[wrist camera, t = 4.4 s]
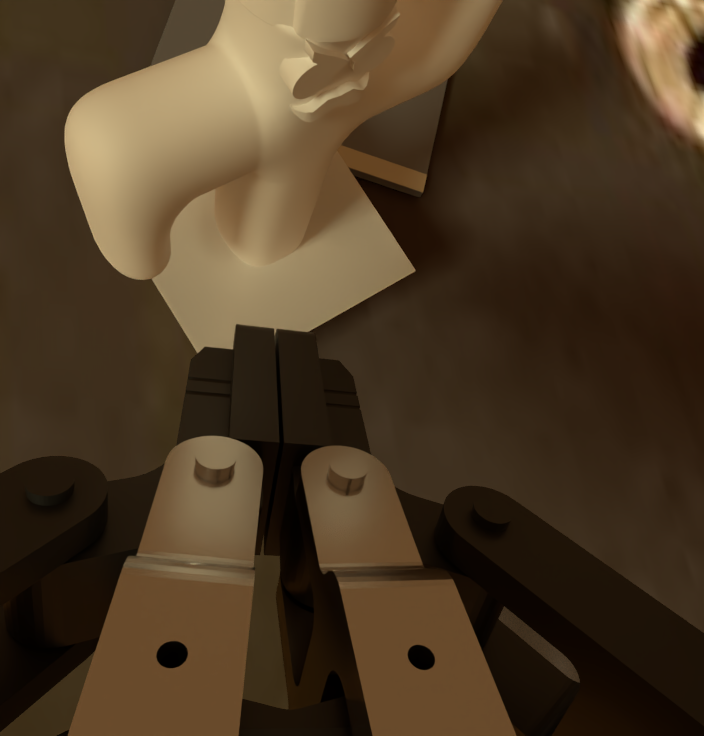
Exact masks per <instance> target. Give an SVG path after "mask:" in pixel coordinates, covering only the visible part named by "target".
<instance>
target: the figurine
mask: <svg viewBox="0 0 704 736" xmlns="http://www.w3.org/2000/svg"><path fill="white" fill-rule="evenodd" d="M502 1H503V0H225V5H224V9H223V13H222V16H221V19H220V21H219V24H218V26H217V29H216V31H215V33H214V34H213V36H212V38H211V39H210V41H209V42H208V44H207V45H206V46H203V47H200V48H198V49H195V50H192V51H190V52H187V53H184V54H182V55H179V56H177V57H174V58H171V59H169V60H166V61H163V62H161V63H158V64H155V65H153V66H150V67H148V68H145V69H142V70H140V71H137V72H134V73H132V74H129V75H126V76H124V77H121V78H118V79H116V80H113V81H111V82H108V83H106V84H104V85H101V86H99V87H97V88H95V89H94V90H92V91H90V92H89V93H87V94H86V95H84V96H83V97H82V98H81V99H79V100H78V101H77V102H76V104H75V105H74V106H73V107H72V109H71V111H70V113H69V115H68V118H67V121H66V125H65V150H66V155H67V160H68V165H69V169H70V172H71V176H72V179H73V182H74V184H75V187H76V190H77V193H78V196H79V198H80V201H81V204H82V207H83V209H84V212H85V215H86V218H87V221H88V223H89V226H90V229H91V231H92V234H93V237H94V239H95V241H96V243H97V245H98V247H99V249H100V251H101V252H102V253H103V255H104V256H105V258H106V259H107V260H108V261H109V262H110V264H111V265H112V266H113V267H114V268H115V269H117V270H118V271H119V272H120V273H122V274H124V275H126V276H127V277H130V278H133V279H139V280H145V279H151V278H152V280H153V282H154V283H155V285H156V287H157V288H158V290H159V291H160V293H161V295H162V296H163V298H164V300H165V301H166V303H167V304H168V306H169V308H170V309H171V311H172V312H173V314H174V316H175V317H176V319H177V321H178V322H179V324H180V325H181V327H182V329H183V330H184V332H185V334H186V335H187V337H188V338H189V340H190V342H191V343H192V345H193V347H194V348H195V350H196V351H197V353H199V352H200V351H201V350H202V349H203V348H204V347H214V348H224V349H233V342H234V334H235V327H236V324H241V325H249V326H258V327H267V328H274V333H276V329H285V330H294V331H303V332H309V331H311V330H312V329H314V328H316V327H318V326H319V325H321V324H323V323H325V322H326V321H328V320H330V319H332V318H333V317H335V316H337V315H339V314H341V313H342V312H344V311H346V310H348V309H349V308H351V307H353V306H355V305H356V304H358V303H360V302H362V301H364V300H365V299H367V298H369V297H371V296H372V295H374V294H376V293H378V292H379V291H381V290H383V289H385V288H386V287H388V286H390V285H392V284H394V283H395V282H397V281H399V280H401V279H402V278H404V277H406V276H408V275H409V274H411V273H413V272H415V271H416V270H415V269H414V267H413V265H412V264H411V262H410V261H409V259H408V258H407V256H406V255H405V253H404V252H403V250H402V249H401V247H400V246H399V244H398V243H397V241H396V240H395V238H394V237H393V235H392V233H391V232H390V230H389V229H388V227H387V226H386V224H385V223H384V221H383V220H382V218H381V217H380V215H379V214H378V212H377V211H376V209H375V208H374V206H373V205H372V203H371V201H370V200H369V198H368V197H367V195H366V194H365V192H364V191H363V189H362V188H361V186H360V185H359V183H358V182H357V180H356V179H355V177H354V176H353V174H352V173H351V171H350V169H349V168H348V166H347V165H346V163H345V162H344V160H343V159H342V157H341V156H340V154H339V153H338V151H337V150H338V149H339V147H340V146H341V144H342V143H343V142H344V140H345V139H346V138H347V137H348V136H349V135H350V133H351V132H352V131H353V130H354V129H356V128H357V127H358V126H359V125H360V124H362V123H363V122H365V121H366V120H367V119H369V118H371V117H373V116H375V115H377V114H379V113H381V112H384V111H386V110H388V109H390V108H392V107H395V106H397V105H399V104H401V103H403V102H405V101H408V100H410V99H412V98H414V97H416V96H418V95H421V94H423V93H425V92H427V91H429V90H431V89H433V88H435V87H436V86H438V85H440V84H442V83H443V82H444V81H446V80H447V79H448V78H449V77H451V76H452V75H453V74H454V73H455V72H456V71H457V70H458V69H459V68H460V67H461V65H462V64H463V63H464V62H465V61H466V59H467V58H468V56H469V55H470V54H471V52H472V51H473V50H474V48H475V47H476V45H477V43H478V42H479V40H480V39H481V37H482V35H483V34H484V32H485V30H486V29H487V27H488V25H489V24H490V22H491V20H492V18H493V17H494V15H495V13H496V11H497V10H498V8H499V6H500V4H501V3H502Z"/></svg>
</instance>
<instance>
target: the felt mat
mask: <svg viewBox="0 0 704 736" xmlns="http://www.w3.org/2000/svg"><path fill="white" fill-rule="evenodd" d="M224 5H225V0H175V3H174V6H173V8H172V11H171V14H170V16H169V19H168V21H167V24H166V27H165V29H164V32H163V35H162V37H161V40H160V42H159V45H158V48H157V50H156V53H155V56H154V58H153V61H152V63H151V66H153V65H155V64H158V63H161V62H163V61H166V60H169V59H171V58H174V57H177V56H179V55H182V54H184V53H187V52H190V51H192V50H195V49H198V48H200V47H203V46H206V45H207V44H208V42H209V41H210V39H211V38H212V36H213V34H214V33H215V31H216V29H217V26H218V24H219V21H220V19H221V16H222V13H223V9H224ZM447 81H448V79H447V80H446V81H444V82H443V83H442V84H440V85H438V86H436V87H435V88H433V89H431V90H429V91H427V92H425V93H423V94H421V95H418V96H416V97H414V98H412V99H410V100H408V101H405V102H403V103H401V104H399V105H397V106H395V107H392V108H390V109H388V110H386V111H384V112H381V113H379V114H377V115H375V116H373V117H371V118H369V119H367V120H366V121H365V122H363V123H362V124H360V125H359V126H358V127H357V128H356V129H354V130H353V131H352V132H351V133H350V135H349V136H348V137H347V138H346V139H345V140H344V142H343V143H342V144H341V146H340V147H339V149H338V150H337V151H338V153H339V154H340V156H341V157H342V159H343V160H344V162H345V163H346V165H347V166H348V168H349V169H350V171H351V173H352V174H353V176H356V177H359V178H362V179H365V180H368V181H371V182H374V183H377V184H380V185H383V186H386V187H389V188H392V189H395V190H398V191H401V192H404V193H407V194H410V195H413V196H416V197H419V198H420V196H421V195H422V193H423V191H424V186H425V182H426V177H427V171H428V167H429V162H430V158H431V153H432V149H433V144H434V140H435V135H436V131H437V126H438V121H439V117H440V112H441V108H442V103H443V99H444V94H445V90H446V85H447Z"/></svg>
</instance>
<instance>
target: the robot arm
mask: <svg viewBox="0 0 704 736" xmlns="http://www.w3.org/2000/svg"><path fill="white" fill-rule="evenodd" d="M356 393H357V392H356V388H355V383H354V379H353V376H352V375H351V374H350V372H349V371H348V370H347V369H346V368H345V367H344V366H343V365H342V363H341V362H340V361H338V360H329V359H319V356H318V350H317V343H316V337H315V333H312V332H303V331H294V330H285V329H276V333H274V328H267V327H258V326H249V325H241V324H236V327H235V334H234V342H233V349H224V348H214V347H204V348H203V349H202V350H201V351H200V352H199V353H198V354H197V355H195V356H194V357H193V358H192V359H191V362H190V368H189V374H188V380H187V386H186V393H185V398H184V404H183V410H182V416H181V422H180V427H179V433H178V439H177V445H176V447H175V448H174V449H172V451H171V452H170V453H169V454H168V457H167V459H166V462H165V463H164V464H163V465H162V466H160V467H158V468H157V469H155V470H153V471H151V472H149V473H146V474H143V475H140V476H136V477H132V478H126V479H120V480H114V481H108V482H107V480H106V478H105V476H104V474H103V473H102V472H101V470H100V469H98V468H97V467H96V466H95V465H93V464H91V463H89V462H87V461H84V460H81V459H78V458H73V457H66V456H49V457H41V458H36V459H32V460H29V461H26V462H23V463H20V464H18V465H16V466H14V467H12V468H10V469H8V470H6V471H4V472H2V473H0V732H1V731H2V730H3V729H4V728H6V727H7V726H8V725H9V724H10V723H11V722H13V721H14V720H15V719H16V718H17V717H19V716H20V715H21V714H22V713H23V712H24V711H26V710H27V709H28V708H29V707H30V706H31V705H33V704H34V703H35V702H36V701H37V700H39V699H40V698H41V697H42V696H43V695H44V694H46V693H47V692H48V691H49V690H50V689H51V688H53V687H54V686H55V685H56V684H57V683H59V682H60V681H61V680H62V679H63V678H64V677H66V676H67V675H68V674H69V673H70V672H71V671H73V670H74V669H75V668H76V667H77V666H79V665H80V664H81V663H82V662H83V661H84V660H86V659H87V658H88V657H89V656H90V655H91V654H92V653H93V652H94V651H95V653H94V656H93V659H92V663H91V666H90V669H89V672H88V675H87V678H86V681H85V684H84V687H83V690H82V693H81V696H80V699H79V702H78V705H77V709H76V712H75V715H74V718H73V721H72V724H71V727H70V730H67V731H65V732H63V733H61V734H59V735H57V736H704V633H703V632H701V631H700V630H698V629H697V628H696V627H694V626H693V625H691V624H690V623H688V622H687V621H686V620H684V619H683V618H681V617H680V616H679V615H677V614H676V613H674V612H673V611H671V610H670V609H669V608H667V607H666V606H664V605H663V604H661V603H660V602H659V601H657V600H656V599H654V598H653V597H651V596H650V595H649V594H647V593H646V592H644V591H643V590H642V589H640V588H639V587H637V586H636V585H634V584H633V583H632V582H630V581H629V580H627V579H626V578H624V577H623V576H622V575H620V574H619V573H617V572H616V571H615V570H613V569H612V568H610V567H609V566H607V565H606V564H605V563H603V562H602V561H600V560H599V559H597V558H596V557H595V556H593V555H592V554H590V553H589V552H587V551H586V550H585V549H583V548H582V547H580V546H579V545H578V544H576V543H575V542H573V541H572V540H570V539H569V538H568V537H566V536H565V535H563V534H562V533H560V532H559V531H558V530H556V529H555V528H553V527H552V526H550V525H549V524H548V523H546V522H545V521H543V520H542V519H541V518H539V517H538V516H536V515H535V514H533V513H532V512H531V511H529V510H528V509H526V508H525V507H523V506H522V505H521V504H519V503H518V502H516V501H515V500H513V499H512V498H510V497H509V496H507V495H505V494H503V493H501V492H498V491H496V490H493V489H489V488H486V487H480V486H466V487H461V488H458V489H456V490H454V491H452V492H451V493H450V494H449V495H448V496H447V497H446V499H445V502H444V505H443V504H439V503H436V502H433V501H429V500H426V499H423V498H420V497H416V496H413V495H411V494H408V493H406V492H404V491H402V490H400V489H398V488H396V487H395V486H394V484H393V481H392V479H391V476H390V474H389V472H388V470H387V469H386V467H385V466H384V465H383V464H382V463H381V462H380V461H379V460H378V459H376V458H375V457H374V456H372V455H371V453H370V448H369V444H368V440H367V435H366V431H365V427H364V422H363V418H362V414H361V410H359V408H360V405H359V401H358V396H356ZM263 535H264V555H273V556H280V576H279V581H278V586H277V591H276V603H277V611H278V620H279V628H280V636H281V645H282V653H283V662H284V670H285V678H286V687H287V695H288V710H286V709H280V708H276V707H272V706H268V705H264V704H261V703H257V702H253V701H249V700H245V699H242V696H243V686H244V676H245V666H246V656H247V646H248V636H249V626H250V616H251V607H252V597H253V587H254V576H255V567H253V564H254V555H260V552H261V546H262V540H263ZM504 606H505V607H506V608H507V609H509V610H510V611H511V612H512V613H514V614H515V615H516V616H517V617H518V618H520V619H521V620H522V621H523V622H525V623H526V624H527V625H528V626H529V627H531V628H532V629H533V630H534V631H536V632H537V633H538V634H539V635H541V636H542V637H543V638H544V639H545V640H547V641H548V642H549V643H550V644H552V645H553V646H554V647H555V648H556V649H558V650H559V651H560V652H561V653H563V654H564V655H565V656H566V657H567V658H568V659H569V660H570V661H571V663H572V664H573V665H574V667H575V669H576V670H577V673H578V675H579V679H580V683H578V682H575V681H573V680H571V679H570V678H568V677H567V676H566V675H564V674H563V673H562V672H561V671H560V670H558V669H557V668H556V667H555V666H554V665H552V664H551V663H550V662H549V661H548V660H546V659H545V658H544V657H543V656H542V655H540V654H539V653H538V652H537V651H536V650H534V649H533V648H532V647H531V646H530V645H528V644H527V643H526V642H525V641H524V640H522V639H521V638H520V637H519V636H518V635H516V634H515V633H514V632H513V631H512V630H511V629H509V628H508V627H507V626H506V625H505V624H503V623H502V622H501V621H500V620H499V619H498V618H499V616H500V614H501V611H502V609H503V607H504Z"/></svg>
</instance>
